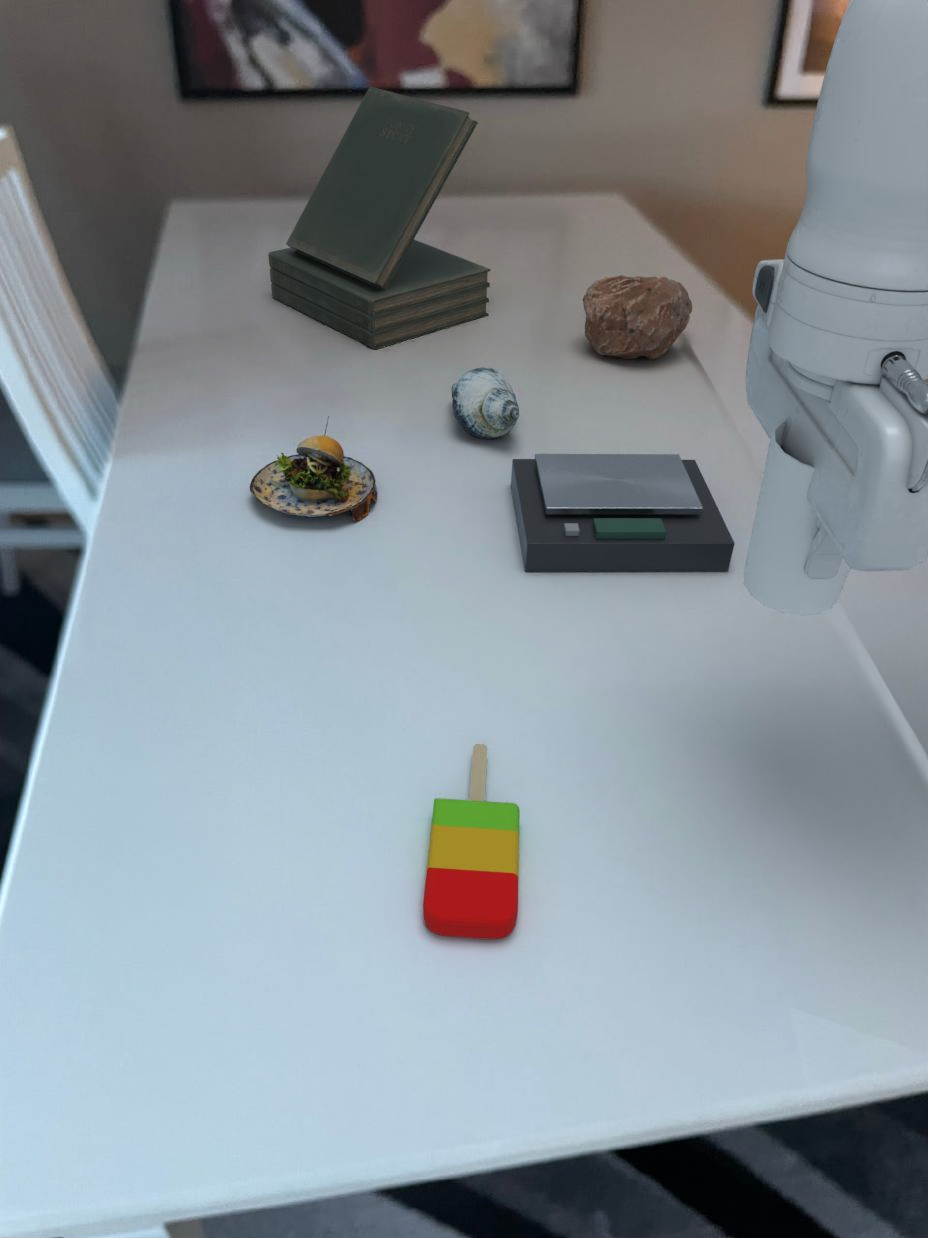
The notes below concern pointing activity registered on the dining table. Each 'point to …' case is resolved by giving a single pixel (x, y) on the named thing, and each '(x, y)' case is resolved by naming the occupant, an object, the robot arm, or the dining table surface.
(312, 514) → the burger
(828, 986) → the dining table surface
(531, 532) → the scale
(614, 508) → the scale pan
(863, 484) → the robot arm
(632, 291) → the decorative rock
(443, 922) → the popsicle
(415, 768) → the dining table surface
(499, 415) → the seashell
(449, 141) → the stack of books
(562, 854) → the dining table surface
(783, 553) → the white hollow cylinder
